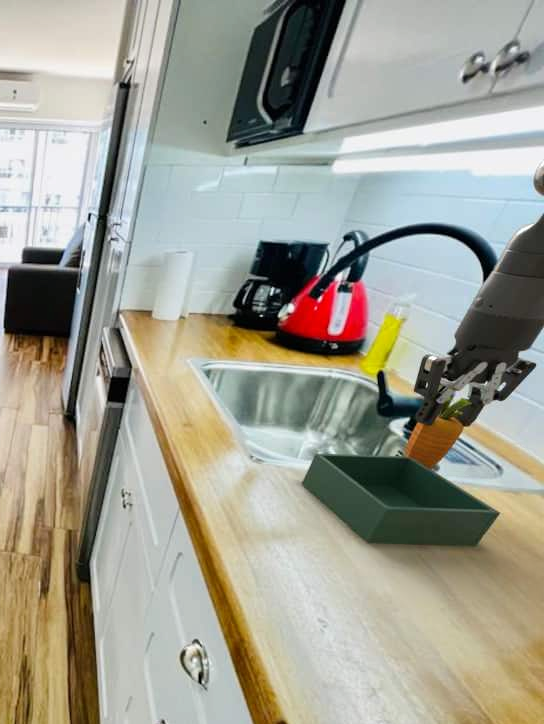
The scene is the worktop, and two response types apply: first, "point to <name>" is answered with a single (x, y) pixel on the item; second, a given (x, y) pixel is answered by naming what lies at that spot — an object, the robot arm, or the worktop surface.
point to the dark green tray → (397, 500)
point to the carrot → (436, 435)
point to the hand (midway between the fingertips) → (441, 423)
